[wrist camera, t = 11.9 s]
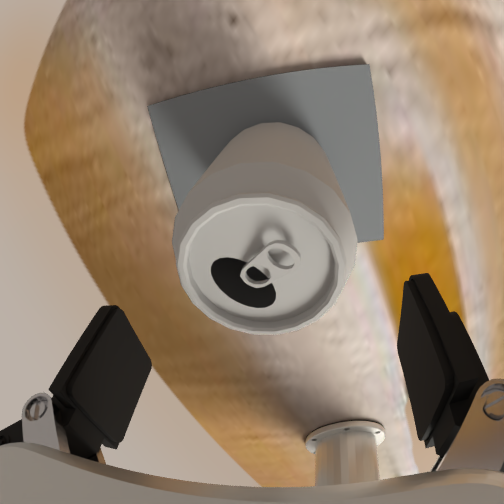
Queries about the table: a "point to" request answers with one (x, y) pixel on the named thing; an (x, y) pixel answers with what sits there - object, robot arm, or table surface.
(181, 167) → the mat
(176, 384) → the table surface
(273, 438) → the table surface
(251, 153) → the can
